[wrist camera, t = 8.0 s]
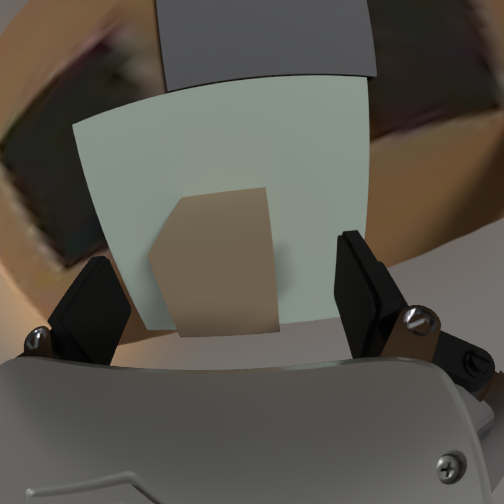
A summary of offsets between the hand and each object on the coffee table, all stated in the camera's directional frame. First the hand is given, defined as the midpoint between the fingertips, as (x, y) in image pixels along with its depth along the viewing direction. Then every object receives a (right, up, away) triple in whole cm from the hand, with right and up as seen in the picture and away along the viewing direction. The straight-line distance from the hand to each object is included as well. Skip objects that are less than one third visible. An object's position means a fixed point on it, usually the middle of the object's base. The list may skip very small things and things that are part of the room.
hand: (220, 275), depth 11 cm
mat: (+2, +23, +4) cm, 24 cm away
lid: (0, +3, +4) cm, 5 cm away
